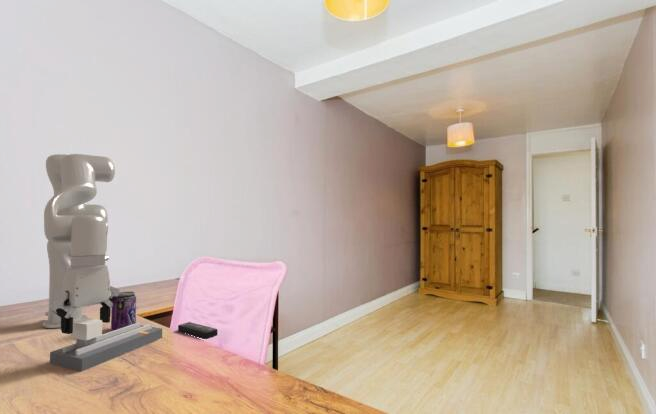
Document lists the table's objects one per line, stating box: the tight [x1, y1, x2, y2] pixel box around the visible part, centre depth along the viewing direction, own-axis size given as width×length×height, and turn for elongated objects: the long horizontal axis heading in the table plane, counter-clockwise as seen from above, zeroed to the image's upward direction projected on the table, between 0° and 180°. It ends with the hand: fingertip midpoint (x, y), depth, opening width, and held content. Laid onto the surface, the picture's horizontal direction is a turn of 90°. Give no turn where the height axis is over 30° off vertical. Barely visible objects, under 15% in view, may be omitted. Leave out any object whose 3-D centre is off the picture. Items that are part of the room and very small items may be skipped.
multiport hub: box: [177, 321, 218, 340], centre depth 108 cm, size 4×14×2 cm, turn 58°
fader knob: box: [70, 317, 103, 349], centre depth 88 cm, size 6×4×7 cm, turn 70°
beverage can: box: [110, 291, 137, 331], centre depth 112 cm, size 7×7×12 cm
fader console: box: [49, 322, 163, 372], centre depth 95 cm, size 12×24×4 cm, turn 160°
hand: (86, 327), depth 88 cm, fingers open, 9 cm apart
